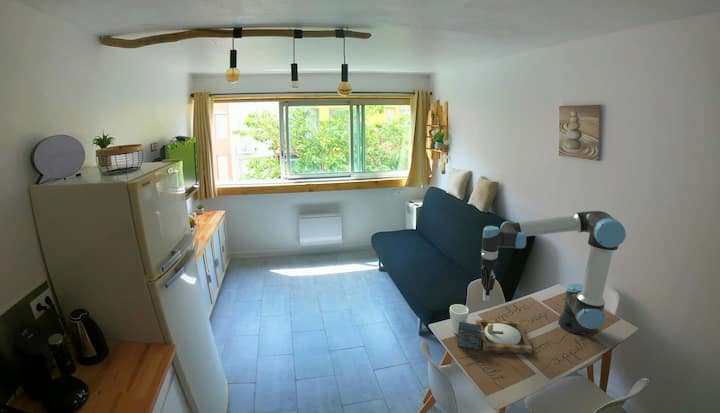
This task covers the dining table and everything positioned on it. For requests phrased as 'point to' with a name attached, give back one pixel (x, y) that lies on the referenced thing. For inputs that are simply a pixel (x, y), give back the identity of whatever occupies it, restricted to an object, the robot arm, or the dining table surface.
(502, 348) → the housing
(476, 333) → the small box
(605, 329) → the dining table surface
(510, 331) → the dial
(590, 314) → the robot arm
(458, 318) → the foam cup
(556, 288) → the dining table surface
